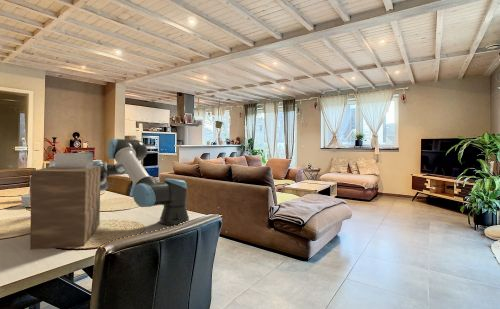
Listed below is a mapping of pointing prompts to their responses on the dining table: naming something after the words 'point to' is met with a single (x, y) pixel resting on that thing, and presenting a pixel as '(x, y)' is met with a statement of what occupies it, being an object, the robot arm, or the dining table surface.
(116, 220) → the dining table surface
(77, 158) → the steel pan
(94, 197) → the walnut cabinet
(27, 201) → the ramekin
